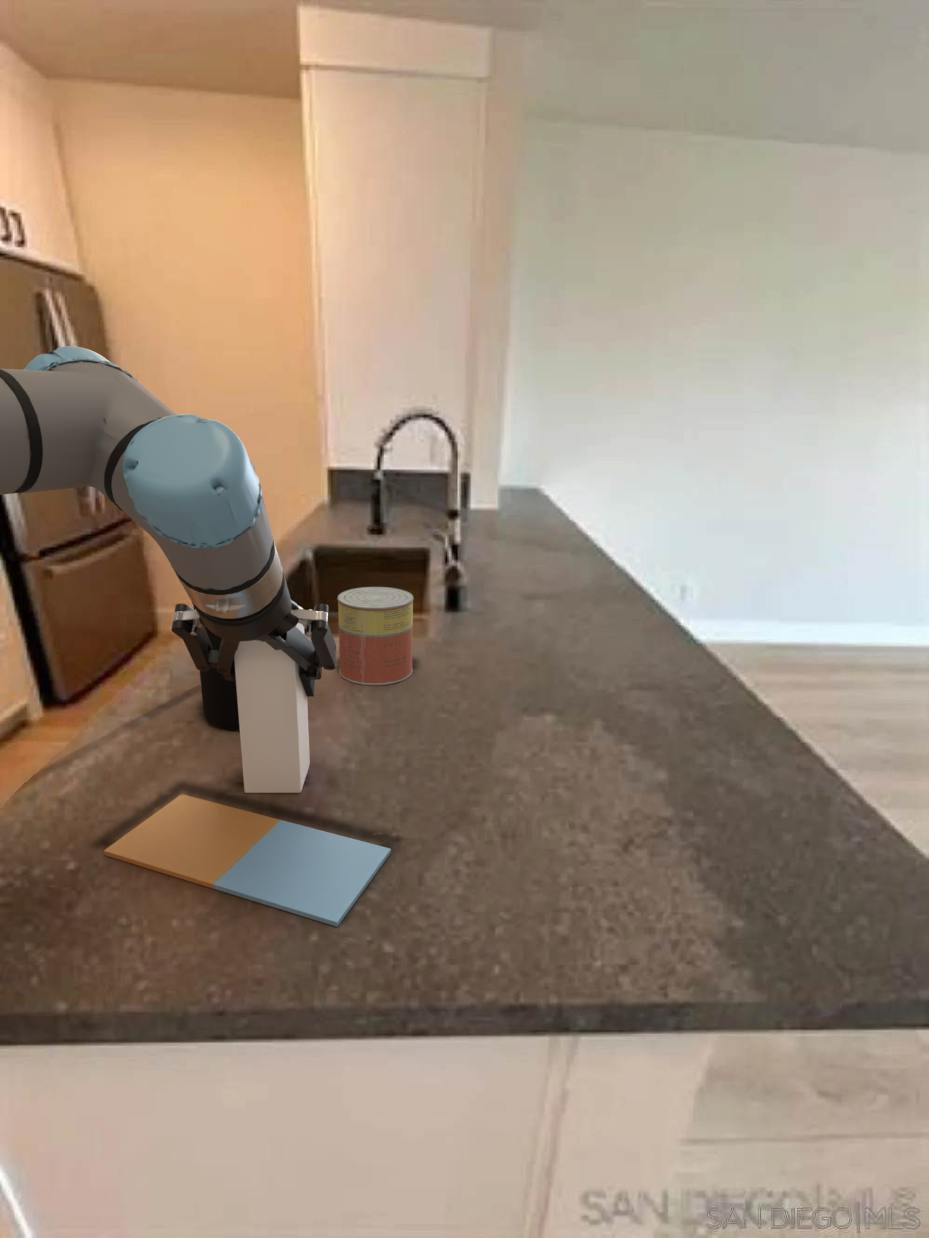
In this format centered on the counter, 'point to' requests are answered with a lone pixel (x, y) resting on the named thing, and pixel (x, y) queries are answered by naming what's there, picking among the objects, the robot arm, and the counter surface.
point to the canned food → (375, 635)
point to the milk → (271, 719)
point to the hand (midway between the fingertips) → (279, 685)
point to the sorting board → (254, 857)
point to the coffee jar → (219, 693)
